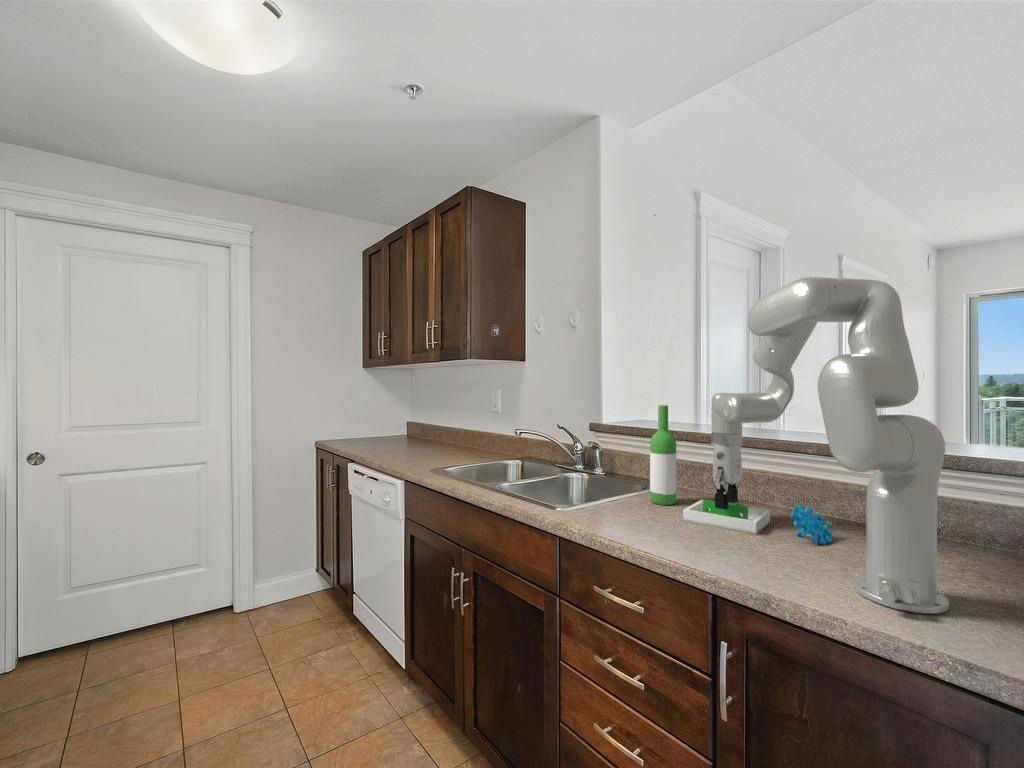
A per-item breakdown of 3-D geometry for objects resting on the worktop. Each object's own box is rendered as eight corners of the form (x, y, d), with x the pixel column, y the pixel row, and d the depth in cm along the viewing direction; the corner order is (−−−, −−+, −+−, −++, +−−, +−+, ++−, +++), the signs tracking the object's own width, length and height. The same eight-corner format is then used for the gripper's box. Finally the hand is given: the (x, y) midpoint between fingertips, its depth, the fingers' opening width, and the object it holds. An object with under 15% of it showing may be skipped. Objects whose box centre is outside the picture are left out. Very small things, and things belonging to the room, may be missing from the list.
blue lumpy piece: (809, 541, 108) (787, 502, 115) (791, 553, 112) (771, 514, 119) (847, 543, 111) (822, 505, 118) (828, 555, 115) (806, 517, 122)
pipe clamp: (751, 522, 126) (751, 504, 126) (746, 525, 124) (746, 507, 123) (707, 513, 134) (707, 497, 134) (702, 516, 131) (702, 499, 131)
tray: (756, 534, 118) (756, 522, 118) (683, 520, 129) (683, 509, 129) (770, 521, 128) (770, 510, 128) (701, 510, 140) (701, 499, 140)
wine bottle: (655, 498, 154) (655, 404, 154) (679, 501, 149) (679, 405, 149) (646, 503, 148) (646, 405, 147) (671, 507, 143) (671, 406, 143)
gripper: (731, 443, 120) (731, 515, 120) (750, 437, 133) (750, 501, 133) (700, 441, 124) (700, 509, 125) (722, 435, 138) (722, 497, 138)
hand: (726, 505), depth 129 cm, fingers open, 7 cm apart
